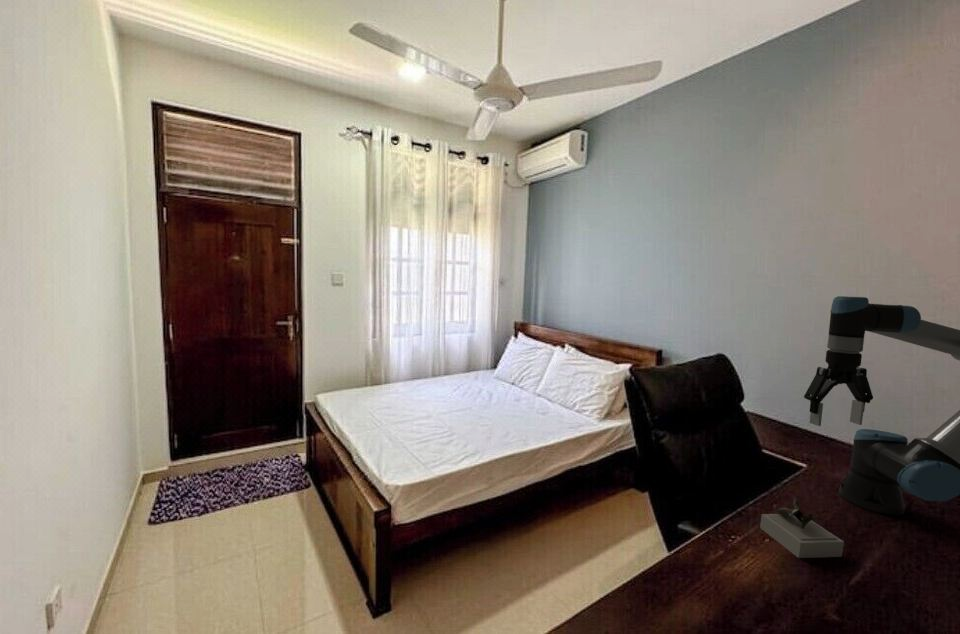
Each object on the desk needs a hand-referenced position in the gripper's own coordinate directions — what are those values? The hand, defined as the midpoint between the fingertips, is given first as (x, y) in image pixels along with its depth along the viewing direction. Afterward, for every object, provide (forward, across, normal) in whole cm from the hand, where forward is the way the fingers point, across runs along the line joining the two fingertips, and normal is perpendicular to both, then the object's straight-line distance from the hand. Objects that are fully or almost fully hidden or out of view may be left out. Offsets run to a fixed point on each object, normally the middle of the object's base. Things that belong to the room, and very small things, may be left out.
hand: (835, 423), depth 117 cm
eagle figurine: (+24, +19, +8) cm, 31 cm away
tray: (+28, +20, +10) cm, 35 cm away
